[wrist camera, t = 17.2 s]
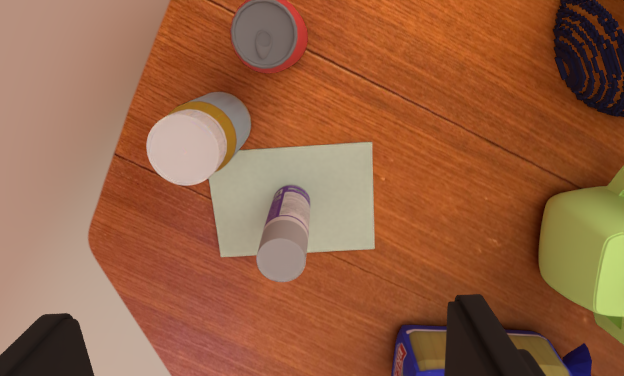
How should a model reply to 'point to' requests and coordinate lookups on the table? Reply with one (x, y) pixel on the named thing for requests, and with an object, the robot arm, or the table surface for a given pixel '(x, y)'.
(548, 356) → the bread
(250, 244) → the mat
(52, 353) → the robot arm
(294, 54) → the beer can
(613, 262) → the teapot
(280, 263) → the container
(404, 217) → the table surface
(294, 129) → the table surface
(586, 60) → the decorative bowl
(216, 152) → the bottle
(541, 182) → the table surface
